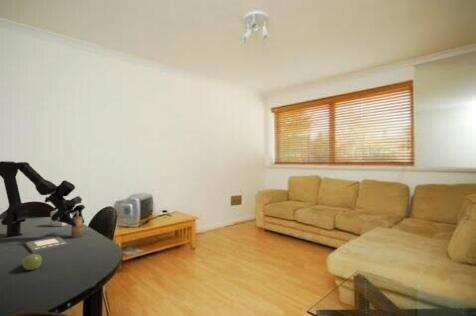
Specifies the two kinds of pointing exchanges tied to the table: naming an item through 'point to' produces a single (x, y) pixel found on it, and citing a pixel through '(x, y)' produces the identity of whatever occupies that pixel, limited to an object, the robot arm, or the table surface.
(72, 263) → the table surface
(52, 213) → the medicine box
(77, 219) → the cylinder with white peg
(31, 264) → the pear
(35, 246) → the grey flat block
